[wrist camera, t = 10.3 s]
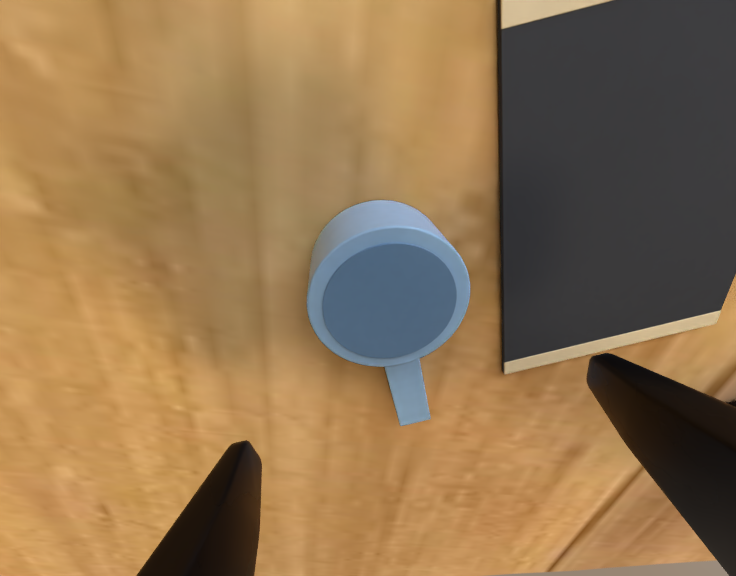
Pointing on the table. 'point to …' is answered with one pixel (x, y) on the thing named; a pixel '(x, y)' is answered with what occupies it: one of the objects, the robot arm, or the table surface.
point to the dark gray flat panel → (614, 172)
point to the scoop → (387, 294)
